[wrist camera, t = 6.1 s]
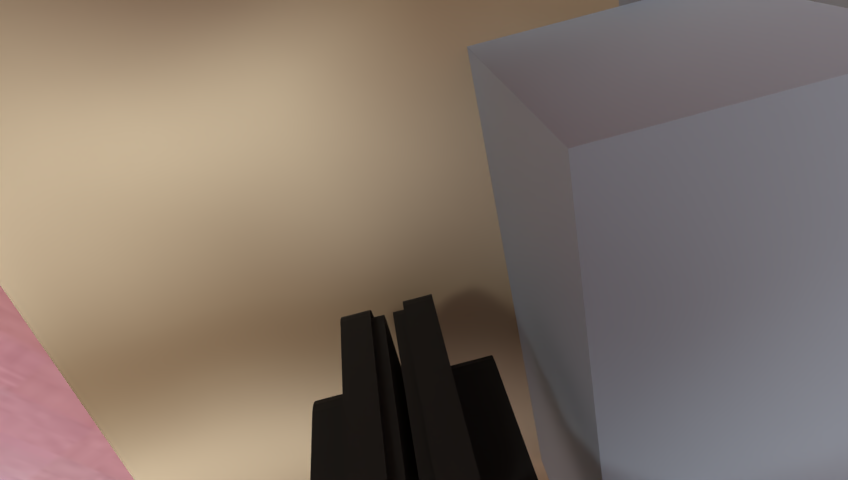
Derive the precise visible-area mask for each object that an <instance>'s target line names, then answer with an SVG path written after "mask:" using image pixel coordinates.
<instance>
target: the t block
mask: <svg viewBox="0 0 848 480" xmlns="http://www.w3.org/2000/svg"><path fill="white" fill-rule="evenodd" d="M467 50H468V55H469V61H470V66H471V72H472V77H473V83H474V88H475V94H476V99H477V105H478V111H479V116H480V122H481V127H482V133H483V138H484V144H485V149H486V155H487V160H488V166H489V171H490V177H491V182H492V188H493V194H494V199H495V205H496V210H497V216H498V221H499V227H500V232H501V238H502V243H503V249H504V254H505V260H506V266H507V271H508V277H509V282H510V288H511V293H512V299H513V304H514V310H515V315H516V321H517V326H518V332H519V338H520V343H521V349H522V354H523V360H524V365H525V371H526V376H527V382H528V387H529V393H530V398H531V404H532V409H533V415H534V421H535V426H536V432H537V437H538V443H539V448H540V454H541V459H542V463H543V465H544V468H545V471H546V473H547V476H548V478H549V480H848V8H844V7H839V6H834V5H829V4H824V3H819V2H814V1H809V0H641V1H637V2H634V3H630V4H626V5H622V6H618V7H615V8H611V9H607V10H603V11H600V12H596V13H592V14H588V15H584V16H581V17H577V18H573V19H569V20H565V21H562V22H558V23H554V24H550V25H547V26H543V27H539V28H535V29H531V30H528V31H524V32H520V33H516V34H512V35H509V36H505V37H501V38H497V39H493V40H490V41H486V42H482V43H478V44H475V45H471V46H467Z"/></svg>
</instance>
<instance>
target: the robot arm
mask: <svg viewBox="0 0 848 480" xmlns="http://www.w3.org/2000/svg"><path fill="white" fill-rule="evenodd" d="M403 308H404V310H400V311H396V312H393V318H394V324H395V331H396V337H397V343H398V350H399V356H400V362H401V365H400V362H399V358H398V355H397V352H396V349H395V346H394V343H393V339H392V336H391V333H390V330H389V327H388V323H387V320H386V317H385V315H381V316H377V317H374V316H373V313H372V311H371V310H367V311H364V312H360V313H356V314H352V315H348V316H344V317H341V320H340V327H341V359H342V392H343V394H340V395H336V396H332V397H329V398H325V399H321V400H317V401H315V402H314V404H313V410H312V437H311V470H310V480H538V478H537V475H536V472H535V470H534V467H533V464H532V461H531V459H530V456H529V453H528V450H527V448H526V445H525V442H524V439H523V437H522V434H521V431H520V428H519V426H518V423H517V420H516V417H515V415H514V412H513V409H512V406H511V404H510V401H509V398H508V395H507V393H506V390H505V387H504V384H503V382H502V379H501V376H500V373H499V371H498V368H497V365H496V362H495V360H494V358H493V356H492V355H490V356H486V357H482V358H478V359H475V360H471V361H467V362H463V363H459V364H455V365H452V366H450V362H449V358H448V354H447V350H446V347H445V343H444V339H443V335H442V331H441V328H440V324H439V320H438V316H437V313H436V309H435V305H434V301H433V297H432V294H429V295H426V296H422V297H418V298H414V299H410V300H406V301H403Z"/></svg>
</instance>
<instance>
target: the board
mask: <svg viewBox="0 0 848 480" xmlns="http://www.w3.org/2000/svg"><path fill="white" fill-rule="evenodd" d="M637 1H641V0H0V285H1V287H2V288H3V290H4V291H5V293H6V294H7V296H8V297H9V298H10V300H11V301H12V303H13V304H14V306H15V307H16V309H17V310H18V312H19V313H20V314H21V316H22V317H23V319H24V320H25V322H26V323H27V325H28V326H29V328H30V329H31V330H32V332H33V333H34V335H35V336H36V338H37V339H38V341H39V342H40V344H41V345H42V346H43V348H44V349H45V351H46V352H47V354H48V355H49V357H50V358H51V359H52V361H53V362H54V364H55V365H56V367H57V368H58V370H59V371H60V373H61V374H62V375H63V377H64V378H65V380H66V381H67V383H68V384H69V386H70V387H71V389H72V390H73V391H74V393H75V394H76V396H77V397H78V399H79V400H80V402H81V403H82V405H83V406H84V407H85V409H86V410H87V412H88V413H89V415H90V416H91V418H92V419H93V421H94V422H95V423H96V425H97V426H98V428H99V429H100V431H101V432H102V434H103V435H104V436H105V438H106V439H107V441H108V442H109V444H110V445H111V447H112V448H113V450H114V451H115V452H116V454H117V455H118V457H119V458H120V460H121V461H122V463H123V464H124V466H125V467H126V468H127V470H128V471H129V473H130V474H131V476H132V477H133V479H134V480H310V470H311V437H312V410H313V404H314V402H315V401H317V400H321V399H325V398H329V397H332V396H336V395H340V394H343V392H342V359H341V327H340V320H341V317H344V316H348V315H352V314H356V313H360V312H364V311H367V310H371V311H372V313H373V316H374V317H377V316H381V315H385V317H386V320H387V323H388V327H389V330H390V333H391V336H392V339H393V343H394V346H395V349H396V352H397V355H398V358H399V362H400V356H399V350H398V343H397V337H396V331H395V324H394V318H393V312H396V311H400V310H404V308H403V301H406V300H410V299H414V298H418V297H422V296H426V295H429V294H432V297H433V301H434V305H435V309H436V313H437V316H438V320H439V324H440V328H441V331H442V335H443V339H444V343H445V347H446V350H447V354H448V358H449V362H450V366H452V365H455V364H459V363H463V362H467V361H471V360H475V359H478V358H482V357H486V356H490V355H492V356H493V358H494V360H495V362H496V365H497V368H498V371H499V373H500V376H501V379H502V382H503V384H504V387H505V390H506V393H507V395H508V398H509V401H510V404H511V406H512V409H513V412H514V415H515V417H516V420H517V423H518V426H519V428H520V431H521V434H522V437H523V439H524V442H525V445H526V448H527V450H528V453H529V456H530V459H531V461H532V464H533V467H534V470H535V472H536V475H537V478H538V480H549V478H548V476H547V473H546V471H545V468H544V465H543V463H542V459H541V454H540V448H539V443H538V437H537V432H536V426H535V421H534V415H533V409H532V404H531V398H530V393H529V387H528V382H527V376H526V371H525V365H524V360H523V354H522V349H521V343H520V338H519V332H518V326H517V321H516V315H515V310H514V304H513V299H512V293H511V288H510V282H509V277H508V271H507V266H506V260H505V254H504V249H503V243H502V238H501V232H500V227H499V221H498V216H497V210H496V205H495V199H494V194H493V188H492V182H491V177H490V171H489V166H488V160H487V155H486V149H485V144H484V138H483V133H482V127H481V122H480V116H479V111H478V105H477V99H476V94H475V88H474V83H473V77H472V72H471V66H470V61H469V55H468V50H467V46H471V45H475V44H478V43H482V42H486V41H490V40H493V39H497V38H501V37H505V36H509V35H512V34H516V33H520V32H524V31H528V30H531V29H535V28H539V27H543V26H547V25H550V24H554V23H558V22H562V21H565V20H569V19H573V18H577V17H581V16H584V15H588V14H592V13H596V12H600V11H603V10H607V9H611V8H615V7H618V6H622V5H626V4H630V3H634V2H637ZM809 1H814V2H819V3H824V4H829V5H834V6H839V7H844V8H848V0H809ZM400 365H401V362H400Z"/></svg>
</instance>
